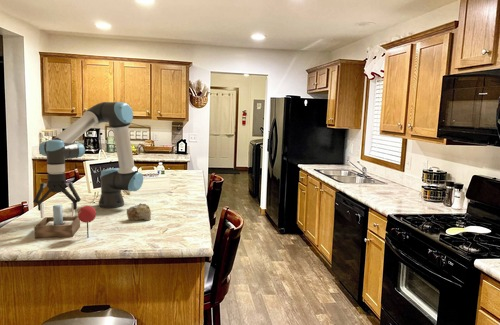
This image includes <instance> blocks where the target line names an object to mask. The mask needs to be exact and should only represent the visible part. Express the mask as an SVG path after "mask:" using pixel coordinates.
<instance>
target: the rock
mask: <svg viewBox="0 0 500 325" xmlns="http://www.w3.org/2000/svg"><path fill="white" fill-rule="evenodd" d="M126 215H127V216H126V217H127V218H128V220H130V221H140V220H144V221H152V217H151V216H152V211H151V208H150V207H149V205H148V204H146V203H141V202H140V203H139V204H137V205H134V206H130V207H129V208H126Z"/></svg>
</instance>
